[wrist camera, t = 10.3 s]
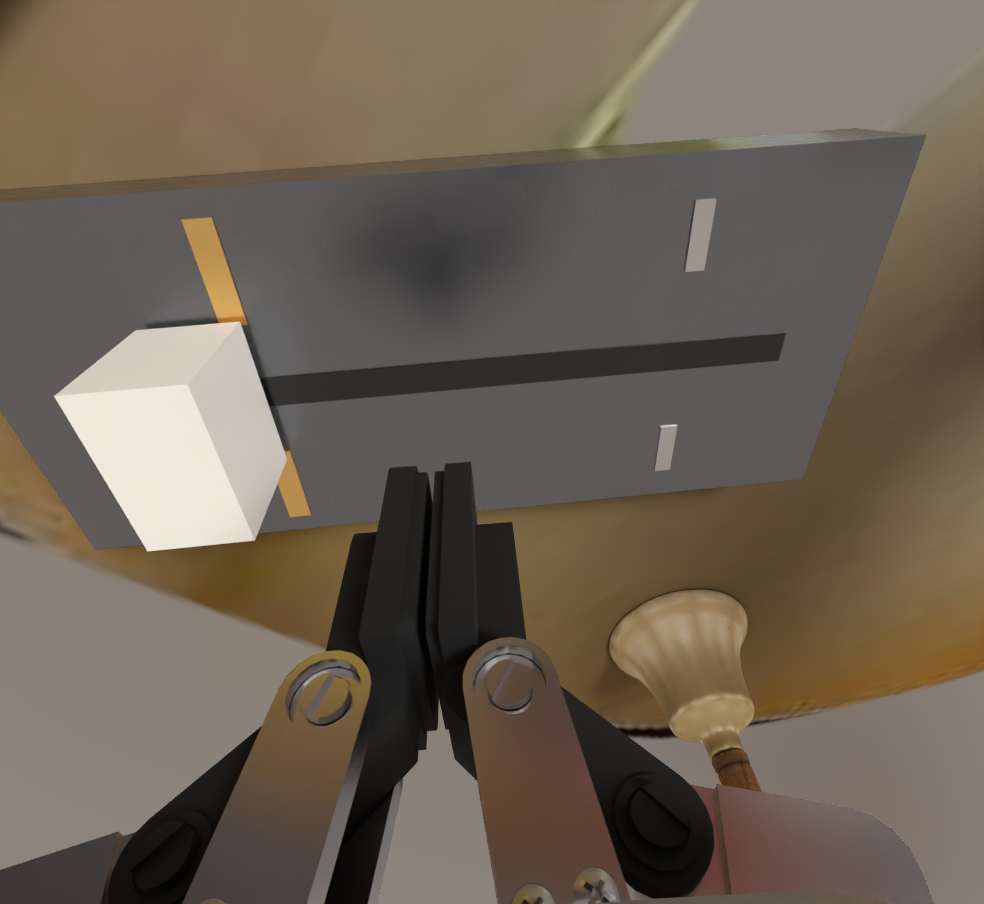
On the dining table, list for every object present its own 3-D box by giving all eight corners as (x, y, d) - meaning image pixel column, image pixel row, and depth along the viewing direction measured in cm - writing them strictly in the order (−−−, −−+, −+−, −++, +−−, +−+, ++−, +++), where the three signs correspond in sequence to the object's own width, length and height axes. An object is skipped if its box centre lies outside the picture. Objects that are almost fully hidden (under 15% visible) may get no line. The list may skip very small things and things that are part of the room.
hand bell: (588, 668, 33) (687, 1049, 20) (644, 579, 29) (818, 991, 16) (702, 679, 35) (862, 1033, 22) (771, 597, 31) (1023, 978, 17)
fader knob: (239, 321, 15) (187, 384, 12) (287, 459, 18) (254, 540, 15) (135, 330, 15) (54, 396, 12) (199, 467, 18) (147, 551, 15)
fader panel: (855, 128, 17) (928, 135, 14) (765, 438, 24) (803, 479, 21) (-46, 193, 16) (-136, 213, 13) (132, 499, 23) (94, 550, 20)
